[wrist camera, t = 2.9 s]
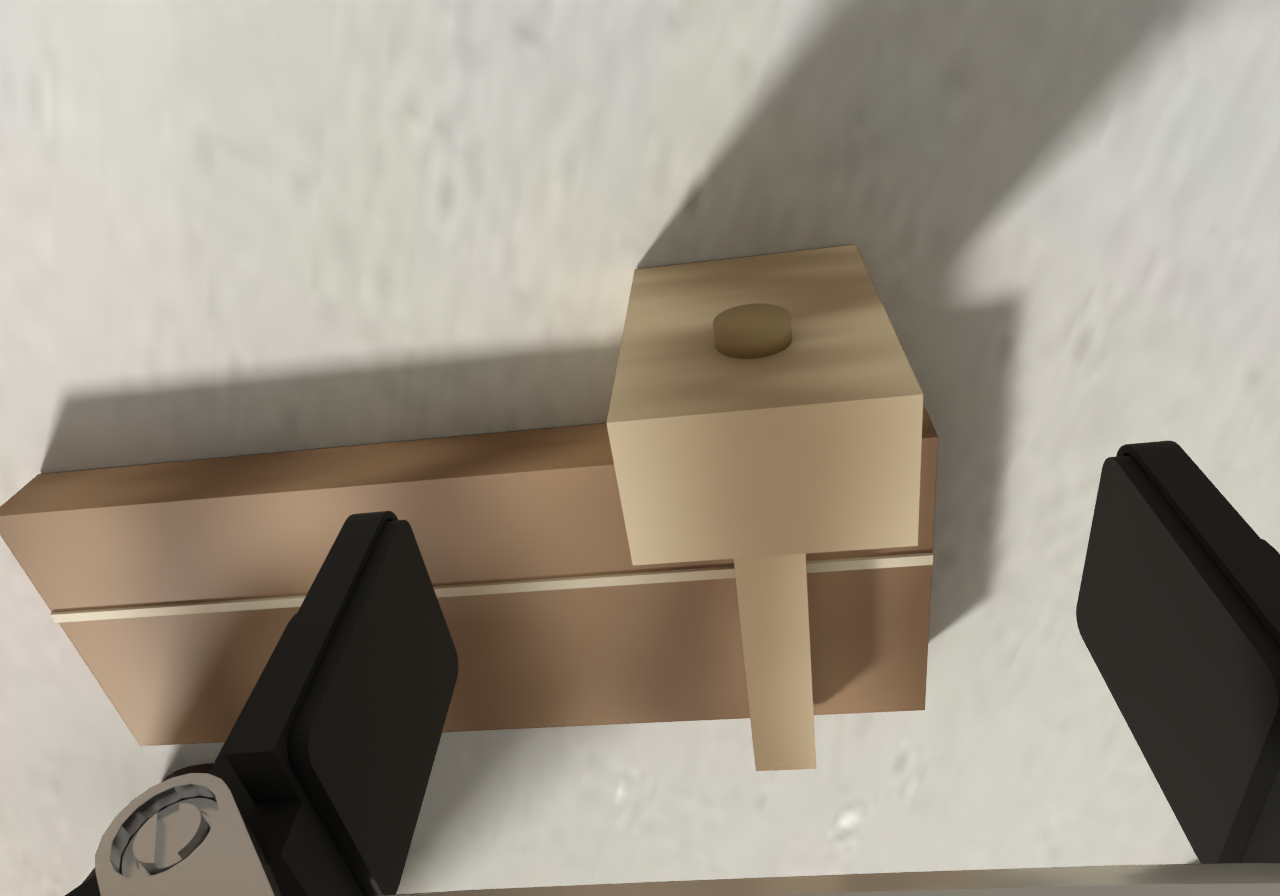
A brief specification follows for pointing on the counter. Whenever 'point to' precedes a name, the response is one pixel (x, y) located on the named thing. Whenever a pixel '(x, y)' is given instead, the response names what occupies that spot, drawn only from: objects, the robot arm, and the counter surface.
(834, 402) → the board
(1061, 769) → the counter surface
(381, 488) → the board
